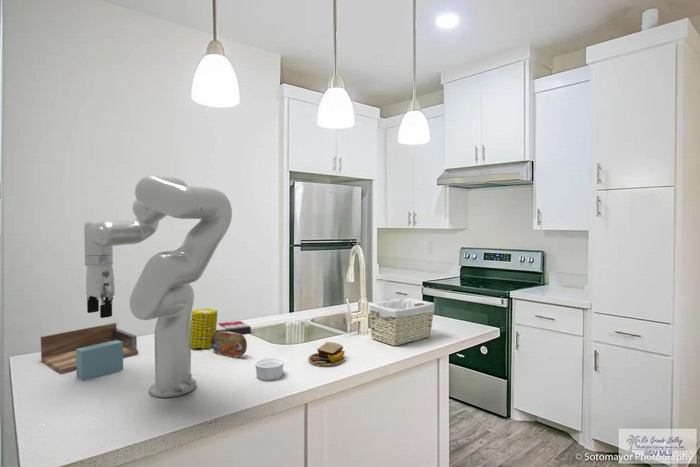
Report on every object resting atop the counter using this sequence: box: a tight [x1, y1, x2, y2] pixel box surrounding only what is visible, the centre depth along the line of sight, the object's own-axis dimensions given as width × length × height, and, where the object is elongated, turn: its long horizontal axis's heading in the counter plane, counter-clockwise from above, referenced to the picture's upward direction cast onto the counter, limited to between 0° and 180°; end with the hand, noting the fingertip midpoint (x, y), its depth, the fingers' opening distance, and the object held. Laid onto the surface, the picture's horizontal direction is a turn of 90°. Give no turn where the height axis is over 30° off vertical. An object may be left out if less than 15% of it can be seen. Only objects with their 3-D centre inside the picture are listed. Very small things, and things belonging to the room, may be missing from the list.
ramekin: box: [254, 357, 285, 381], centre depth 131 cm, size 9×9×4 cm
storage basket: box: [368, 297, 435, 346], centre depth 172 cm, size 24×16×15 cm
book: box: [76, 340, 124, 382], centre depth 132 cm, size 4×12×9 cm, turn 142°
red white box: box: [216, 320, 252, 336], centre depth 178 cm, size 11×4×15 cm
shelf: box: [40, 322, 139, 375], centre depth 146 cm, size 18×24×8 cm
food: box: [190, 307, 218, 350], centre depth 160 cm, size 15×12×10 cm
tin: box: [211, 331, 248, 359], centre depth 150 cm, size 15×3×8 cm, turn 62°
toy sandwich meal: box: [307, 341, 346, 367], centre depth 145 cm, size 12×14×5 cm
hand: (99, 314), depth 132 cm, fingers open, 9 cm apart
